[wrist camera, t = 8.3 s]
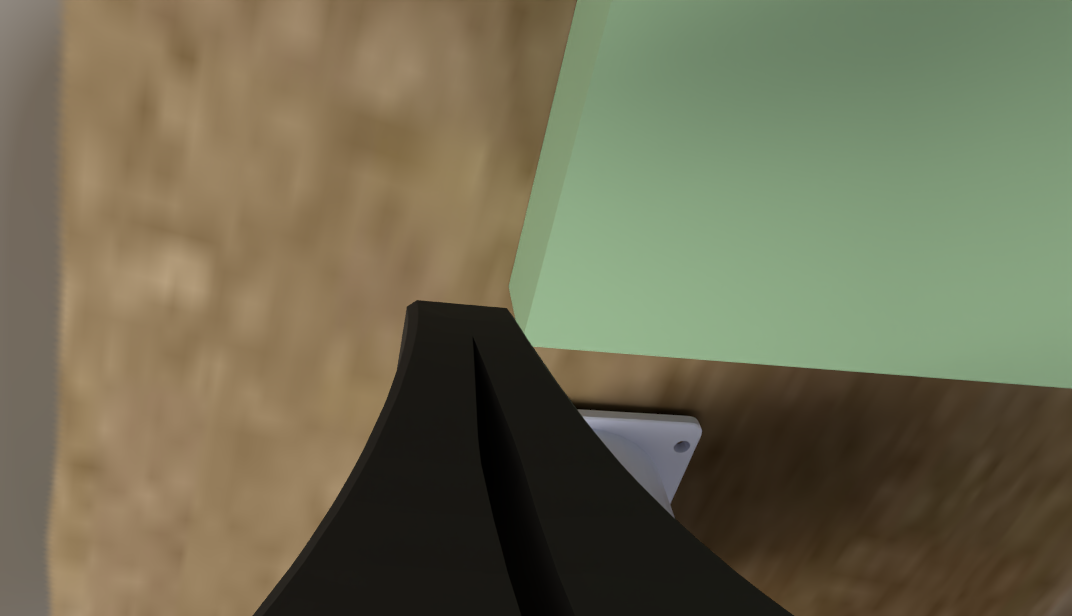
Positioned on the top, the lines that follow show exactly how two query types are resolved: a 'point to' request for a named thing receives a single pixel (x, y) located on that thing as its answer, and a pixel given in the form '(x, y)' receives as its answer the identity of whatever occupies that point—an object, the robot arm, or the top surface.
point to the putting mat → (809, 187)
